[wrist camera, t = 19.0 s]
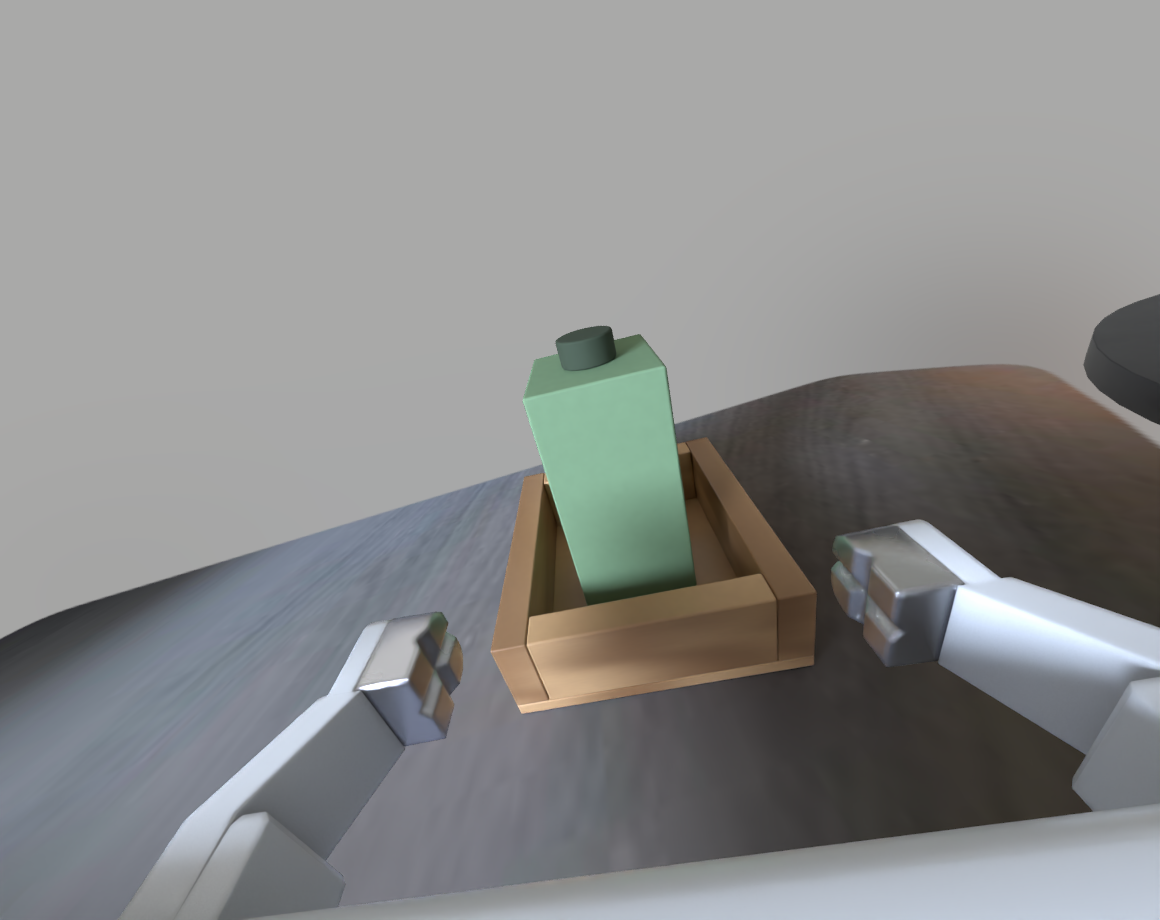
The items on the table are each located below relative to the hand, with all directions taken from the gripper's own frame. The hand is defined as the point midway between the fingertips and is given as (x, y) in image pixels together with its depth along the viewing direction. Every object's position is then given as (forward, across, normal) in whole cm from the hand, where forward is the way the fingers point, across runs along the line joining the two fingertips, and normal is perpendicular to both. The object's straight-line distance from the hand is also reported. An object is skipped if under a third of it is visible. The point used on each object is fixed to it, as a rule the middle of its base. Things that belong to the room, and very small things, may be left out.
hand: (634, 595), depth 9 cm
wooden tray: (+8, 0, +8) cm, 11 cm away
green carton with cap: (+8, 0, +7) cm, 11 cm away
